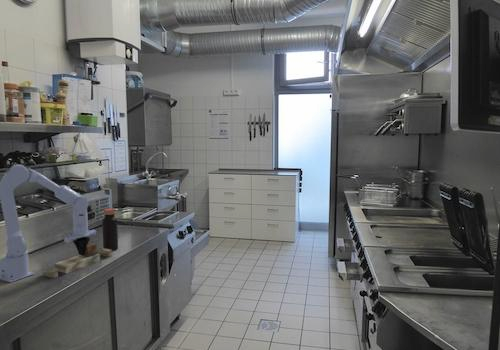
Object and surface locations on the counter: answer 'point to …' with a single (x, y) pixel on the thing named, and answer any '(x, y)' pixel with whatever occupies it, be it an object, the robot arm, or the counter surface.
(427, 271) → the counter surface
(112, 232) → the bottle
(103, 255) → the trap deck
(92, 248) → the walnut block
